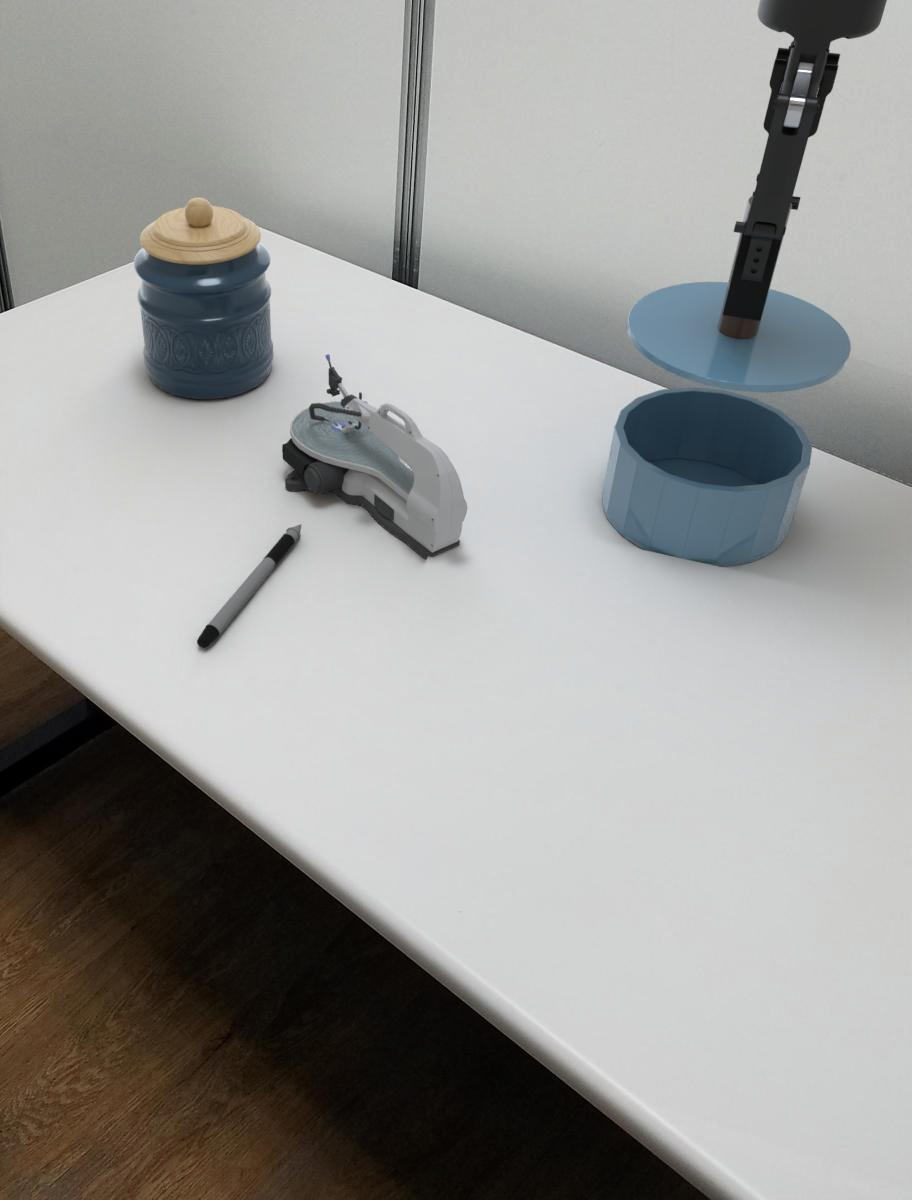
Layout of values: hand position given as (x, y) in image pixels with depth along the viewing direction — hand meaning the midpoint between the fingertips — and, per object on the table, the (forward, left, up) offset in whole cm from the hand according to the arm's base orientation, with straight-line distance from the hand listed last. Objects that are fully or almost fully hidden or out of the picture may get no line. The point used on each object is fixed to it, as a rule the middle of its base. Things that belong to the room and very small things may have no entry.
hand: (744, 304), depth 89 cm
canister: (+49, -7, -19) cm, 53 cm away
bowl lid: (0, 0, -3) cm, 3 cm away
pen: (+31, +23, -19) cm, 43 cm away
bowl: (0, 0, -19) cm, 19 cm away
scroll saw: (+26, +8, -19) cm, 33 cm away
